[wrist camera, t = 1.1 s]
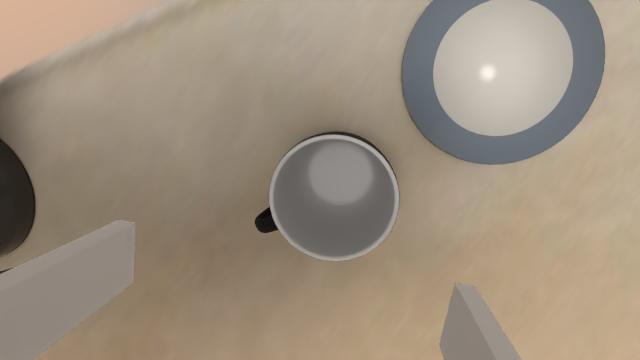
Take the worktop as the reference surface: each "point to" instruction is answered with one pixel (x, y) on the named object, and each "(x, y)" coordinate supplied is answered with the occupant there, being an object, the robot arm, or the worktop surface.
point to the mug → (332, 197)
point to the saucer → (502, 75)
